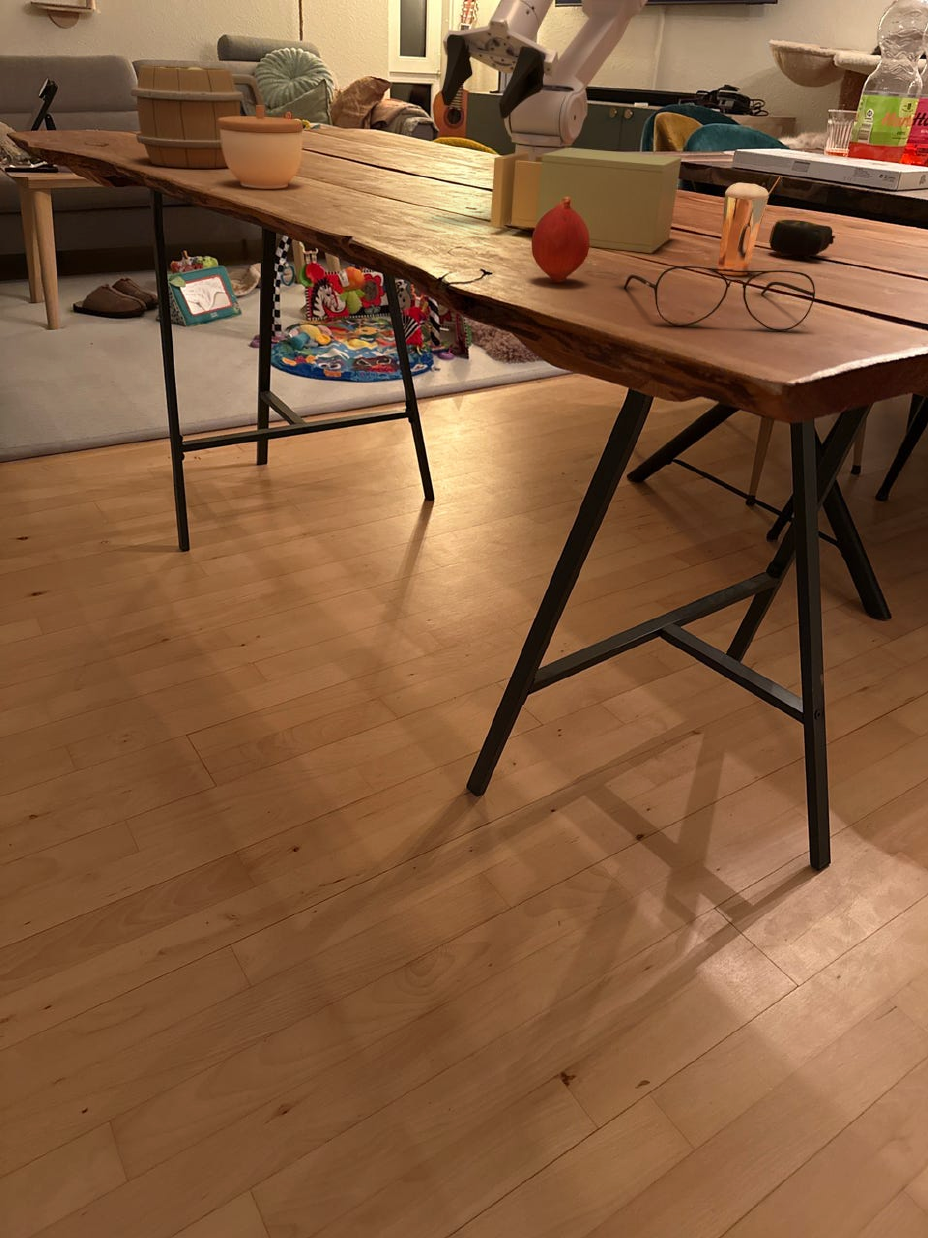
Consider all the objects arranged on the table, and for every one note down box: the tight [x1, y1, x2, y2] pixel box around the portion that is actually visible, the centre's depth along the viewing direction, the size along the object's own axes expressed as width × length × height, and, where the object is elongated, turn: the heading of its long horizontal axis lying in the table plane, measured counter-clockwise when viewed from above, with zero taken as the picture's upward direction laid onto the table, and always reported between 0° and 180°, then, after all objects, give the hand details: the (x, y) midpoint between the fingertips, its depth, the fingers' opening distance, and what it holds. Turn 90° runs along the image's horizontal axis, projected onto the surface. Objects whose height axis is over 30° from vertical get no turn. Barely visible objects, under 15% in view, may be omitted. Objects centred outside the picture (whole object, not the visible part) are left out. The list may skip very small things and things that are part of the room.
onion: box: [531, 197, 591, 283], centre depth 93 cm, size 6×6×8 cm
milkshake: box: [717, 176, 781, 277], centre depth 101 cm, size 4×5×10 cm
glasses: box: [623, 265, 816, 332], centre depth 87 cm, size 14×15×5 cm
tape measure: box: [768, 219, 836, 259], centre depth 114 cm, size 7×7×4 cm
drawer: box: [490, 152, 542, 229], centre depth 118 cm, size 15×10×8 cm
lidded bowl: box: [218, 105, 304, 190], centre depth 143 cm, size 13×13×11 cm
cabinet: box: [537, 147, 682, 254], centre depth 116 cm, size 15×12×10 cm
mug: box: [130, 64, 268, 170], centre depth 164 cm, size 19×25×15 cm
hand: (473, 105), depth 112 cm, fingers open, 7 cm apart
